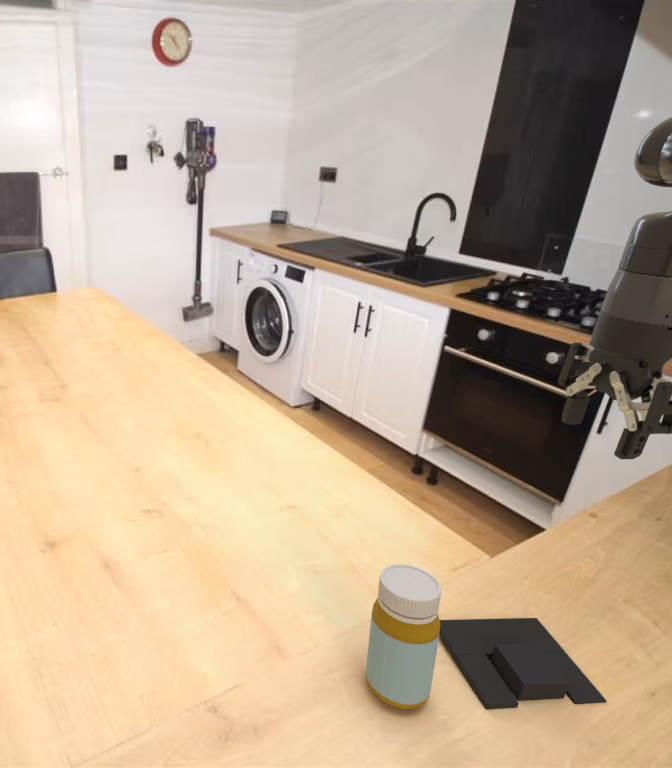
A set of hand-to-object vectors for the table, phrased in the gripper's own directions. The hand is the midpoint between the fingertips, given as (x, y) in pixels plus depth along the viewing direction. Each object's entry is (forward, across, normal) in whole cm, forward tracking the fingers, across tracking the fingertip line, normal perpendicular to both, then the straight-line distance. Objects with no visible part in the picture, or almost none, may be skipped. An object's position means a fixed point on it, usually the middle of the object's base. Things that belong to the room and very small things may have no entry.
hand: (596, 439), depth 66 cm
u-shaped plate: (+26, +10, -10) cm, 30 cm away
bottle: (+26, +13, -26) cm, 39 cm away
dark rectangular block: (+26, +12, -10) cm, 31 cm away
